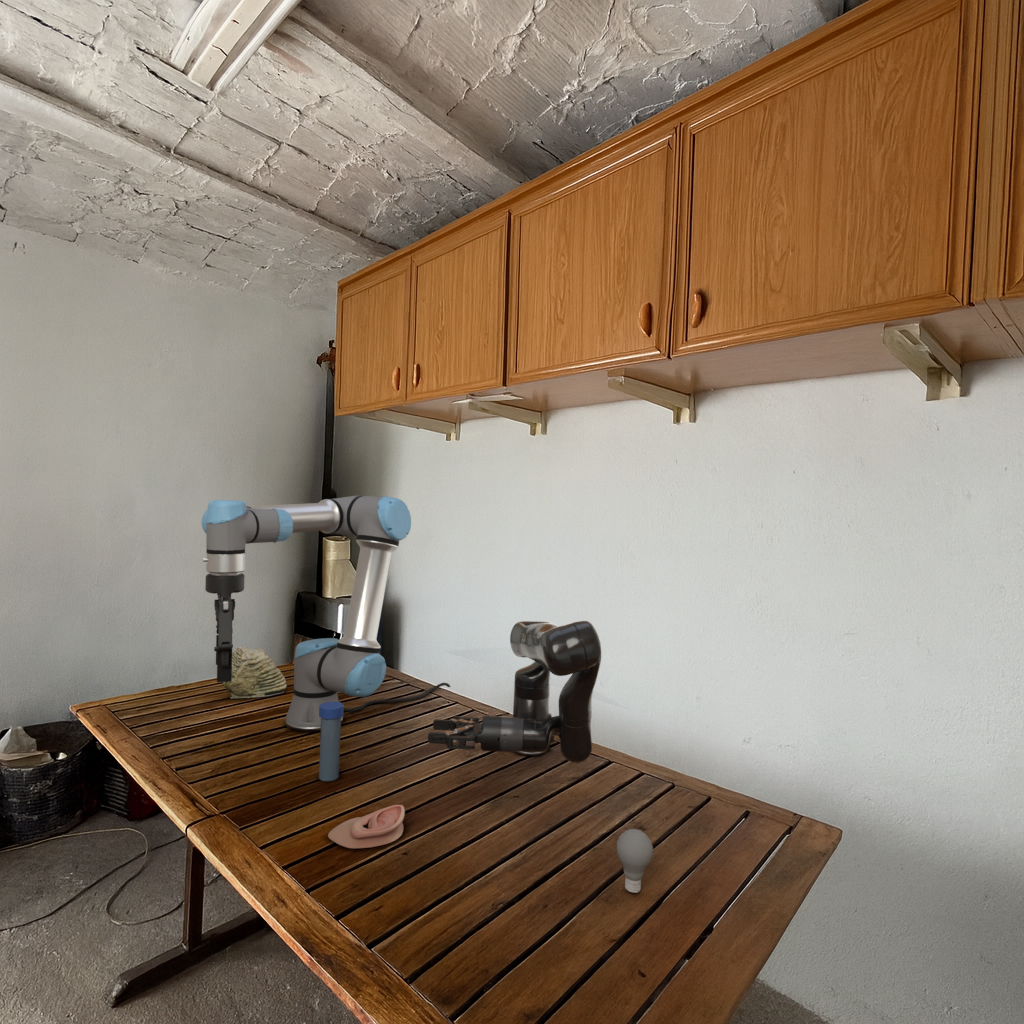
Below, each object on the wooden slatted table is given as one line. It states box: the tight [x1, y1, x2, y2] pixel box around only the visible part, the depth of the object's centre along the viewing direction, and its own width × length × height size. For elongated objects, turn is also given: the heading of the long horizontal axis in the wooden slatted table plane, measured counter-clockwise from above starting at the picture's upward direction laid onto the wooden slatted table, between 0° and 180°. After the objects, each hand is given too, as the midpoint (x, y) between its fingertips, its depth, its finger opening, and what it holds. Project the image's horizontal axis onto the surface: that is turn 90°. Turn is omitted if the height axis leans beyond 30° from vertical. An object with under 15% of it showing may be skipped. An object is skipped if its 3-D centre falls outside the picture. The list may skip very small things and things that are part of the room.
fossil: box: [222, 646, 288, 699], centre depth 198 cm, size 9×18×15 cm, turn 132°
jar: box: [318, 717, 342, 782], centre depth 143 cm, size 4×4×16 cm
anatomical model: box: [327, 804, 406, 849], centre depth 120 cm, size 13×4×12 cm
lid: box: [319, 701, 345, 719], centre depth 143 cm, size 5×5×2 cm
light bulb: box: [615, 828, 654, 894], centre depth 106 cm, size 6×6×10 cm
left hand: (223, 672), depth 135 cm, fingers open, 13 cm apart
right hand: (430, 730), depth 143 cm, fingers open, 8 cm apart
